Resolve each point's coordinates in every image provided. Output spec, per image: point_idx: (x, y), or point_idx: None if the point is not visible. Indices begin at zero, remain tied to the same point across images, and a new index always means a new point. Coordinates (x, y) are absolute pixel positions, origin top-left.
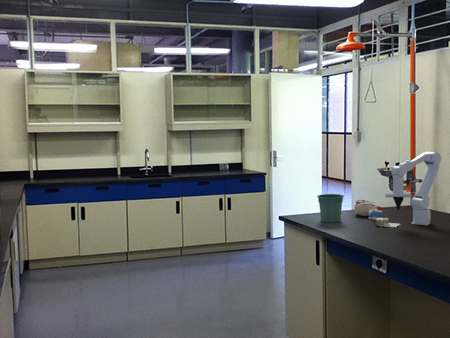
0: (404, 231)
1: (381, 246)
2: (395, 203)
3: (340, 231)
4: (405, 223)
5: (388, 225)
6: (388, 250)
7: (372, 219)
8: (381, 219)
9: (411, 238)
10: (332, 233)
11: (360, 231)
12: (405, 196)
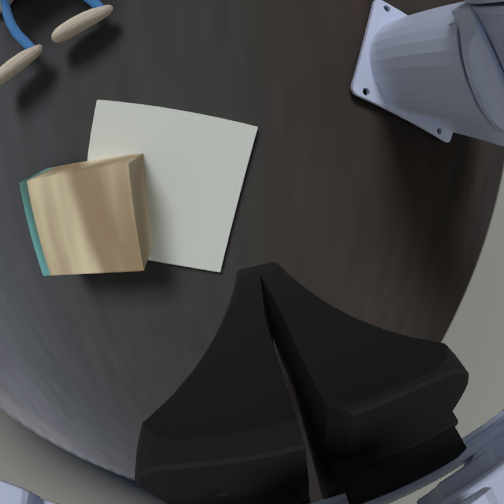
0: (279, 354)
1: None
2: (218, 334)
3: (9, 391)
4: (302, 63)
5: (154, 228)
6: None
7: (4, 81)
8: (82, 262)
9: None
10: (13, 413)
11: (64, 390)
12: (492, 444)
